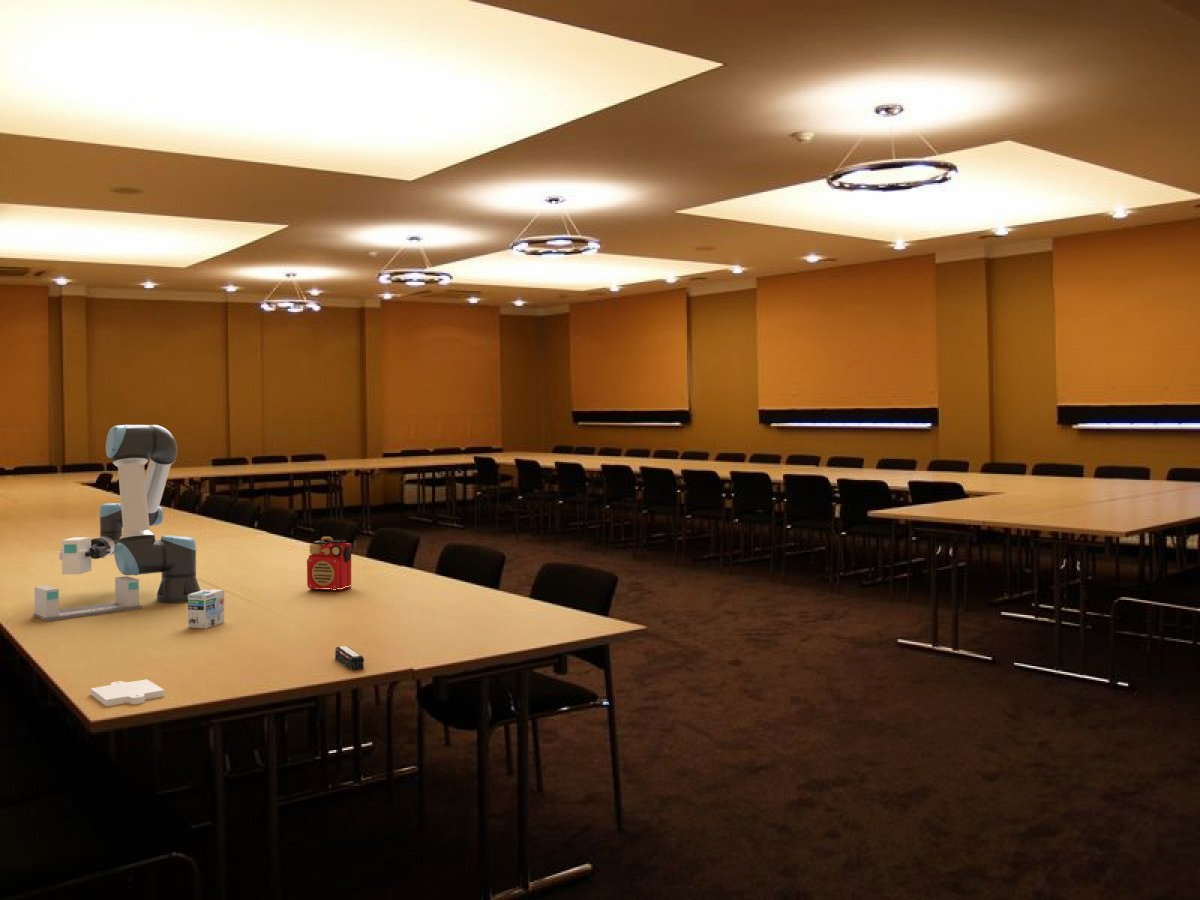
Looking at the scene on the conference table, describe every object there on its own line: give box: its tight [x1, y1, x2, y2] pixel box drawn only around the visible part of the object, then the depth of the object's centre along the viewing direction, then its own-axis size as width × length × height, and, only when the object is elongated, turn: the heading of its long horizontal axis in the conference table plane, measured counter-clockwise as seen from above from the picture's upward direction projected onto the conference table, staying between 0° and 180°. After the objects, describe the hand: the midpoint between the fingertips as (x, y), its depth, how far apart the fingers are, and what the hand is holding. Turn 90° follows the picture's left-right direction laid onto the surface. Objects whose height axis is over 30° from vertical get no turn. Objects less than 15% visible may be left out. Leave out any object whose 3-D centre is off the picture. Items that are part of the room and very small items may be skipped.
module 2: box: [114, 575, 140, 607], centre depth 349 cm, size 4×10×9 cm, turn 48°
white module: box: [61, 536, 93, 575], centre depth 352 cm, size 6×9×12 cm, turn 3°
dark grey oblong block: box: [334, 645, 365, 672], centre depth 273 cm, size 14×25×4 cm, turn 31°
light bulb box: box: [187, 588, 225, 629], centre depth 320 cm, size 11×7×11 cm, turn 168°
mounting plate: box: [89, 678, 165, 707], centre depth 239 cm, size 18×13×2 cm
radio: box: [306, 536, 352, 592], centre depth 386 cm, size 16×10×20 cm, turn 76°
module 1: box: [34, 584, 60, 618], centre depth 330 cm, size 4×10×9 cm, turn 48°
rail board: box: [32, 601, 142, 622], centre depth 339 cm, size 30×13×1 cm, turn 138°
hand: (69, 555), depth 347 cm, fingers closed on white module, 6 cm apart
